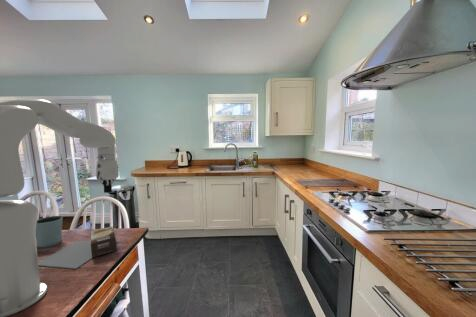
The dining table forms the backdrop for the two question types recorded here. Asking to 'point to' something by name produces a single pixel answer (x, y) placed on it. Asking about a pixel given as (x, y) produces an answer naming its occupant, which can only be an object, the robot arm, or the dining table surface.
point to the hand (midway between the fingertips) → (107, 192)
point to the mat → (69, 256)
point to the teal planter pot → (49, 231)
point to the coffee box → (103, 241)
